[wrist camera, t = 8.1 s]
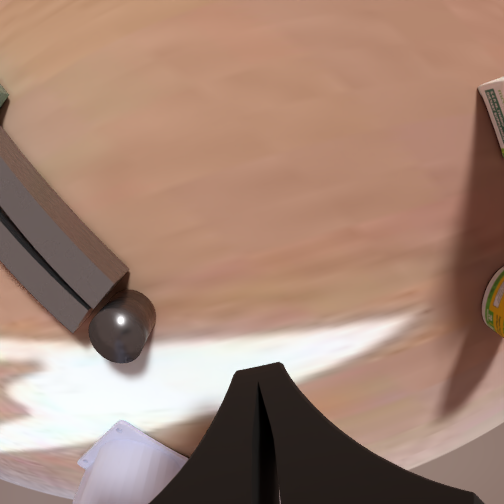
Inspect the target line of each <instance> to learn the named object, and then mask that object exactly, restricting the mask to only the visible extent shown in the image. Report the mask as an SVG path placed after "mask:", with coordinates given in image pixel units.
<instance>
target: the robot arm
mask: <svg viewBox="0 0 504 504" xmlns="http://www.w3.org/2000/svg"><path fill="white" fill-rule="evenodd" d="M77 463H78V465H79V466H81V467H82V468H84V469H85V473H84V475H83V477H82V480H81V482H80V485H79V487H78V490H77V492H76V495H75V497H74V500H73V503H72V504H280V501H281V504H484V503H483V502H482V500H480V499H479V497H478V496H476V494H475V493H473V492H469V491H465V490H461V489H458V488H454V487H450V486H447V485H444V484H441V483H438V482H435V481H432V480H429V479H426V478H424V477H422V476H419V475H417V474H414V473H412V472H409V471H407V470H405V469H403V468H401V467H399V466H397V465H395V464H393V463H391V462H389V461H388V460H386V459H384V458H382V457H380V456H378V455H376V454H375V453H373V452H371V451H370V450H368V449H367V448H365V447H364V446H362V445H361V444H359V443H357V442H356V441H355V440H353V439H352V438H351V437H349V436H348V435H346V434H345V433H344V432H343V431H341V430H340V429H339V428H338V427H336V426H335V425H334V424H333V423H332V422H331V421H329V420H328V419H327V418H326V417H325V416H324V415H323V414H322V413H321V412H320V411H319V410H318V409H317V408H316V407H315V406H314V405H313V404H312V403H311V402H310V401H309V400H308V399H307V398H306V397H305V395H304V394H303V393H302V392H301V391H300V390H299V388H298V387H297V386H296V384H295V383H294V382H293V380H292V379H291V378H290V376H289V374H288V373H287V371H286V369H285V367H284V365H283V364H282V363H280V362H276V363H272V364H267V365H263V366H258V367H253V368H248V369H244V370H239V371H236V372H235V374H234V375H233V378H232V381H231V383H230V386H229V388H228V391H227V393H226V395H225V398H224V400H223V402H222V404H221V406H220V408H219V410H218V412H217V414H216V416H215V418H214V420H213V422H212V424H211V425H210V427H209V429H208V430H207V432H206V434H205V435H204V437H203V439H202V440H201V442H200V443H199V445H198V447H197V448H196V449H195V451H194V452H193V454H192V455H191V457H190V458H189V459H188V458H187V457H185V456H183V455H181V454H179V453H177V452H175V451H174V450H172V449H170V448H168V447H166V446H165V445H163V444H161V443H160V442H158V441H156V440H154V439H153V438H151V437H149V436H148V435H146V434H145V433H143V432H141V431H140V430H138V429H137V428H135V427H133V426H132V425H130V424H129V423H127V422H126V421H123V420H119V421H118V422H117V423H116V424H115V425H114V426H113V427H112V428H111V429H110V430H109V431H107V432H106V433H105V434H104V435H103V436H102V437H101V438H100V439H99V440H98V441H97V442H96V443H95V444H94V445H93V446H92V447H91V448H90V449H89V450H88V451H87V452H86V453H85V454H84V455H83V456H82V457H81V458H79V460H78V462H77ZM279 491H280V497H279Z"/></svg>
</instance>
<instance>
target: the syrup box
mask: <svg viewBox="0 0 504 504" xmlns="http://www.w3.org/2000/svg"><path fill="white" fill-rule="evenodd" d="M478 90H479V92H480V94H481V96H482V97H483V99H484V102H485V104H486V107H487V110H488V113H489V115H490V118H491V121H492V124H493V126H494V129H495V132H496V135H497V138H498V141H499V144H500V147H501V151H502V155H503V158H504V76H503V77H501V78H498V79H495V80H492V81H490V82H487V83H484V84H482V85H480V86H479V87H478Z"/></svg>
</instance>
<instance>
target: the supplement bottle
mask: <svg viewBox="0 0 504 504" xmlns="http://www.w3.org/2000/svg"><path fill="white" fill-rule="evenodd" d="M482 316H483V320H484V322H485V323H486V325H487V326H488V327H490V328H491V329H492V330H494V331H495V332H496V333H498V334H499V335H501V336H502V337H503V338H504V267H502V268H501V269H499V270H498V271H497V272H496V273H495V275H494V276H493V277H492V279H491V281H490V282H489V284H488V286H487V289H486V291H485V294H484V298H483V302H482Z"/></svg>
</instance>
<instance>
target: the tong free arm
mask: <svg viewBox="0 0 504 504" xmlns="http://www.w3.org/2000/svg"><path fill="white" fill-rule="evenodd" d="M8 95H9V94H8V93H7V92H6V91H5V89H4V88H3V87H2V86H1V84H0V108H1V106H2V104H3V103H4V101H5V100H6V98H7V97H8ZM0 206H1V207H2V208H3V210H4V211H5V212H6V214H7V215H8V216H9V217H10V219H11V220H12V221H13V223H14V224H15V225H16V226H17V227H18V229H19V230H20V231H21V232H22V234H23V235H24V236H25V237H26V238H27V240H28V241H29V242H30V243H31V244H32V245H33V247H34V248H35V249H36V250H37V251H38V252H39V253H40V255H41V256H42V257H43V258H44V259H45V260H46V261H47V262H48V263H49V265H50V266H51V267H52V268H53V269H54V270H55V271H56V272H57V273H58V274H59V275H60V276H61V277H62V278H63V279H64V281H65V282H66V283H67V284H68V285H69V286H70V287H71V288H72V289H73V290H74V291H75V292H76V293H77V294H78V295H79V296H80V297H81V298H82V299H83V300H84V301H85V302H86V303H87V304H88V305H89V306H90V307H92V308H93V309H94V308H95V307H96V306H97V305H98V304H99V303H100V302H101V301H102V300H103V299H104V298H105V297H106V296H107V295H108V294H109V293H110V292H111V290H112V289H113V288H114V287H115V286H116V284H117V283H118V282H119V281H120V280H121V278H122V277H123V276H124V275H125V274H126V273H127V271H128V270H129V268H128V267H127V266H126V265H125V264H124V263H123V262H122V261H121V260H120V259H119V258H118V257H117V256H116V255H115V254H114V253H113V252H112V251H111V250H110V249H109V248H108V247H107V246H106V245H105V244H104V243H103V242H102V241H101V240H100V239H99V238H98V237H97V236H96V235H95V234H94V233H93V232H92V231H91V230H90V229H89V228H88V227H87V226H86V225H85V224H84V223H83V222H82V221H81V220H80V219H79V218H78V216H77V215H76V214H75V213H74V212H73V211H72V210H71V209H70V208H69V207H68V206H67V205H66V203H65V202H64V201H63V200H62V199H61V198H60V197H59V196H58V195H57V193H56V192H55V191H54V190H53V189H52V188H51V187H50V186H49V184H48V183H47V182H46V181H45V180H44V179H43V177H42V176H41V175H40V174H39V173H38V172H37V170H36V169H35V168H34V167H33V166H32V164H31V163H30V162H29V161H28V160H27V158H26V157H25V156H24V155H23V153H22V152H21V151H20V150H19V149H18V147H17V146H16V145H15V144H14V142H13V141H12V140H11V138H10V137H9V136H8V135H7V133H6V132H5V131H4V129H3V128H2V127H1V125H0Z"/></svg>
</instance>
